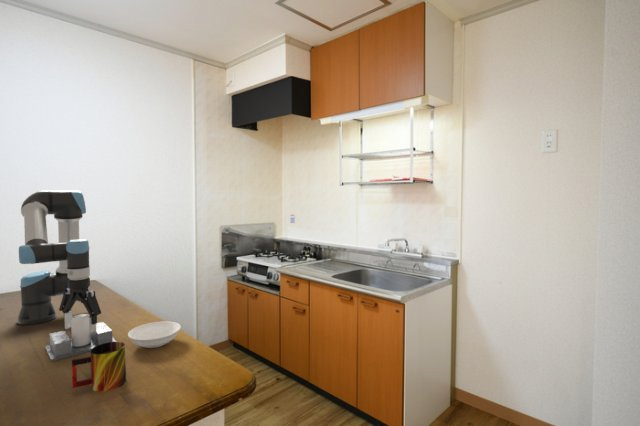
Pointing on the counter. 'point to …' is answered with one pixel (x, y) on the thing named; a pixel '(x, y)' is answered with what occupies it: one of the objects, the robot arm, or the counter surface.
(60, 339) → the gray metal fixture
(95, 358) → the mug
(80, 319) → the can
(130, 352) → the counter surface
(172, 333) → the bowl
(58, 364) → the counter surface
